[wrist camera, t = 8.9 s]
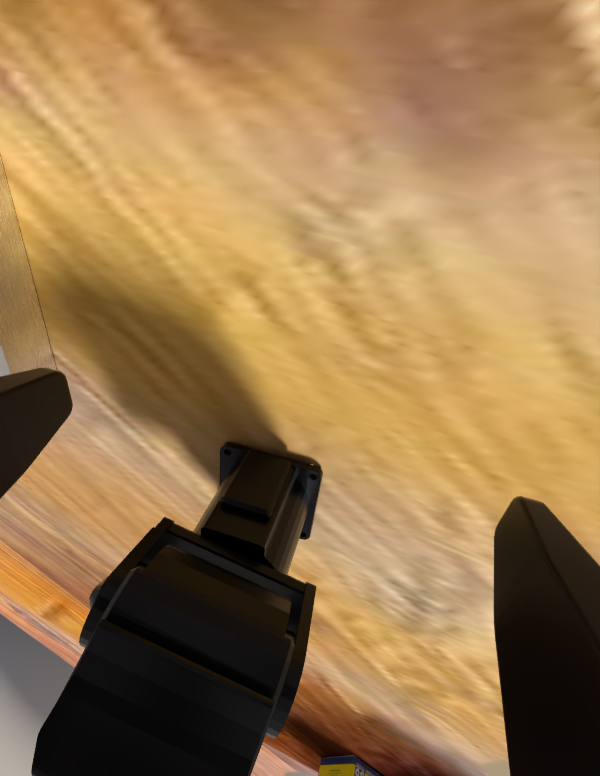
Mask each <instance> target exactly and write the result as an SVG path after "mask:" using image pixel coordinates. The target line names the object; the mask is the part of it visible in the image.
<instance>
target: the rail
mask: <svg viewBox="0 0 600 776" xmlns="http://www.w3.org/2000/svg"><path fill="white" fill-rule="evenodd" d="M37 368H49V369H53V370H56V366H55V362H54V358H53V355H52V351H51V347H50V343H49V339H48V336H47V332H46V328H45V324H44V320H43V316H42V313H41V309H40V305H39V301H38V297H37V294H36V290H35V286H34V282H33V278H32V275H31V271H30V267H29V263H28V259H27V256H26V252H25V248H24V244H23V240H22V237H21V233H20V229H19V225H18V221H17V218H16V214H15V210H14V206H13V202H12V198H11V195H10V191H9V187H8V183H7V179H6V176H5V172H4V168H3V164H2V160H1V157H0V376H5V375H10V374H14V373H19V372H23V371H28V370H32V369H37Z"/></svg>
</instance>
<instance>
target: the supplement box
mask: <svg viewBox="0 0 600 776" xmlns="http://www.w3.org/2000/svg"><path fill="white" fill-rule="evenodd" d="M318 776H381V775H380V774H378V773H377V772H376V771H374V770H373V769H371V768H370V767H369V766H367V765H366V764H364V763H363V762H362V761H360V759H358V758H357V757H356V756H355V755H348V756H336V757H325V758H322V759H321V764H320V769H319V775H318Z"/></svg>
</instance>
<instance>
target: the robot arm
mask: <svg viewBox="0 0 600 776" xmlns="http://www.w3.org/2000/svg"><path fill="white" fill-rule="evenodd" d="M72 407H73V404H72V399H71V395H70V391H69V387H68V383H67V379H66V376H65V375H64V374H63V373H62V372H60V371H57V370H53V369H49V368H37V369H32V370H28V371H23V372H19V373H14V374H10V375H5V376H0V498H1V497H2V496H3V495H4V494H5V493H6V492H7V491H8V490H9V489H10V488H11V487H12V486H13V485H14V484H15V482H16V481H17V480H18V479H19V478H20V477H21V476H22V475H23V474H24V472H25V471H26V470H27V469H28V468H29V466H30V465H31V464H32V463H33V461H34V460H35V459H36V458H37V456H38V455H39V454H40V452H41V451H42V450H43V449H44V447H45V446H46V445H47V443H48V442H49V441H50V440H51V438H52V437H53V436H54V434H55V433H56V432H57V431H58V429H59V428H60V427H61V426H62V424H63V423H64V422H65V420H66V419H67V418H68V417H69V415H70V413H71V411H72ZM227 449H228V450H230V451H231V452H230V451H228V450H227ZM312 474H315V475H316V476H315V475H312ZM322 476H323V472H322V470H321V469H320V468H318V467H316V466H312V465H309V464H305V463H302V462H298V461H295V460H291V459H287V458H284V457H280V456H277V455H273V454H270V453H266V452H263V451H259V450H255V449H252V448H248V447H245V446H241V445H238V444H234V443H231V442H226V443H224V444H223V446H222V447H221V449H220V488H219V490H218V491H217V493H216V495H215V496H214V498H213V499H212V501H211V503H210V504H209V506H208V508H207V509H206V511H205V513H204V514H203V516H202V518H201V519H200V521H199V523H198V524H197V526H196V528H195V529H194V531H193V532H192V531H190V530H188V529H186V528H184V527H181V526H179V525H177V524H175V523H174V521H173V520H171V519H168V518H166V517H164V518H163V519H162V520H161V522H160V523H159V524H158V525H157V526H156V527H155V528H154V527H153V528H152V529H151V530H150V531H149V532H148V533H147V534H146V535H145V536H144V538H143V539H142V540H141V541H140V542H139V543H138V544H137V545H136V546H135V548H134V549H133V550H132V551H131V552H130V553H129V554H128V555H127V556H126V558H125V559H124V560H123V561H122V562H121V563H120V564H119V565H118V566H117V567H116V569H115V570H114V571H113V572H112V573H111V574H110V575H109V576H108V577H107V578H106V579H105V580H103V581H102V582H101V583H100V584H98V585H97V586H96V587H95V589H94V590H93V591H92V593H91V595H90V598H89V600H90V607H91V610H90V613H89V615H88V617H87V619H86V622H85V624H84V626H83V629H82V632H81V635H80V640H79V643H80V645H81V646H83V647H85V650H84V652H83V654H82V655H81V657H80V659H79V661H78V663H77V665H76V667H75V669H74V671H73V673H72V675H71V676H70V678H69V680H68V682H67V684H66V686H65V688H64V690H63V692H62V694H61V696H60V697H59V699H58V701H57V703H56V704H55V706H54V708H53V709H52V711H51V713H50V714H49V716H48V718H47V719H46V721H45V723H44V724H43V726H42V728H41V729H40V732H39V734H38V738H37V742H36V748H35V753H34V758H33V764H32V776H250V775H251V773H252V770H253V767H254V764H255V762H256V759H257V756H258V753H259V751H260V748H261V745H262V743H263V740H264V737H265V735H268V736H270V737H272V738H276V737H277V736H278V735H279V733H280V732H281V730H282V728H283V726H284V724H285V722H286V719H287V717H288V715H289V712H290V709H291V707H292V704H293V701H294V698H295V695H296V692H297V689H298V686H299V682H300V679H301V675H302V671H303V667H304V662H305V657H306V651H307V644H308V638H309V631H310V624H311V618H312V611H313V605H314V598H315V592H316V586H315V585H312V584H310V583H308V582H306V583H304V582H301V581H299V580H297V579H295V578H293V577H290V576H288V575H287V574H288V571H289V568H290V565H291V562H292V559H293V556H294V552H295V549H296V546H297V543H298V540H299V538H300V539H304V540H305V539H308V538H309V537H310V534H311V530H312V525H313V520H314V515H315V510H316V505H317V501H318V496H319V491H320V486H321V481H322ZM494 629H495V641H496V650H497V659H498V668H499V677H500V686H501V695H502V704H503V713H504V722H505V731H506V741H507V750H508V759H509V767H510V776H600V566H599V564H598V563H597V562H596V561H595V560H594V559H593V558H592V557H591V555H590V554H589V553H588V552H587V551H586V550H585V549H584V548H583V546H582V545H581V544H580V543H579V542H578V541H577V540H576V539H575V537H574V536H573V535H572V534H571V533H570V532H569V531H568V530H567V529H566V527H565V526H564V525H563V524H562V523H561V522H560V521H559V520H558V518H557V517H556V516H555V515H554V514H553V513H552V512H551V511H550V509H549V508H548V507H547V506H546V505H545V504H544V503H542V502H540V501H537V500H533V499H529V498H525V497H522V496H518V497H515V498H514V499H513V500H512V502H511V503H510V505H509V506H508V508H507V510H506V511H505V513H504V515H503V516H502V518H501V520H500V521H499V523H498V525H497V527H496V530H495V535H494Z"/></svg>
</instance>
